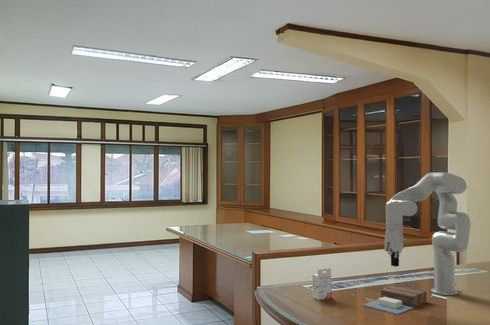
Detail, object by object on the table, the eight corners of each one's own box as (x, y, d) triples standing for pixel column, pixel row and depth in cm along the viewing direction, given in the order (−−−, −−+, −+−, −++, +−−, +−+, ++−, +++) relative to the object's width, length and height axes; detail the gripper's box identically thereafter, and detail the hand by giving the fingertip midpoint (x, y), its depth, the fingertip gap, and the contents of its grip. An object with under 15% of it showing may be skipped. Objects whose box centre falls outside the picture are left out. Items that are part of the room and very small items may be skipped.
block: (377, 298, 206) (377, 304, 206) (395, 303, 199) (395, 308, 199) (384, 296, 210) (384, 301, 210) (402, 300, 203) (402, 306, 203)
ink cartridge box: (325, 295, 223) (325, 266, 224) (332, 298, 219) (331, 268, 219) (312, 297, 219) (311, 268, 220) (318, 300, 215) (317, 269, 215)
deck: (395, 295, 224) (395, 285, 224) (426, 301, 212) (426, 291, 212) (381, 300, 214) (380, 290, 215) (412, 307, 202) (411, 296, 203)
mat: (378, 300, 215) (378, 299, 215) (413, 308, 201) (413, 307, 201) (362, 305, 206) (362, 304, 206) (397, 314, 192) (397, 313, 192)
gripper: (395, 225, 217) (395, 262, 216) (378, 228, 207) (379, 267, 206) (409, 226, 211) (410, 264, 211) (393, 229, 201) (394, 269, 201)
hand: (395, 265), depth 208 cm, fingers closed
